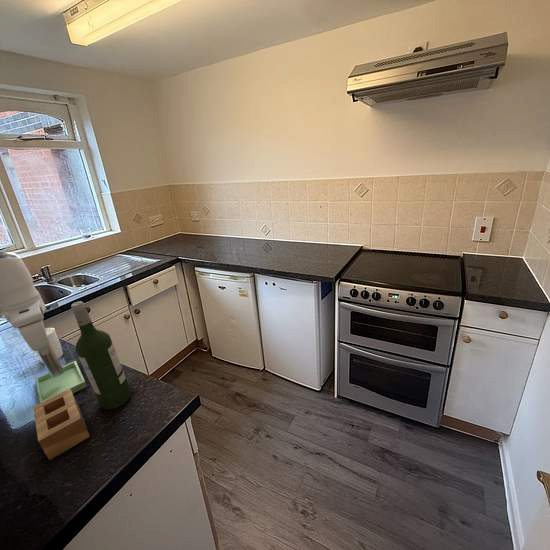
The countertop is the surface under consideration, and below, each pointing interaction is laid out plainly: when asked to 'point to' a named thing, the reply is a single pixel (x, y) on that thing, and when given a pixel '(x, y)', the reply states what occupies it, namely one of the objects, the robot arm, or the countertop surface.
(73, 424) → the holder
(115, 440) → the countertop surface
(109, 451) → the countertop surface
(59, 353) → the white cup
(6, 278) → the robot arm
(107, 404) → the wine bottle
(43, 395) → the tray
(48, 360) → the canister
